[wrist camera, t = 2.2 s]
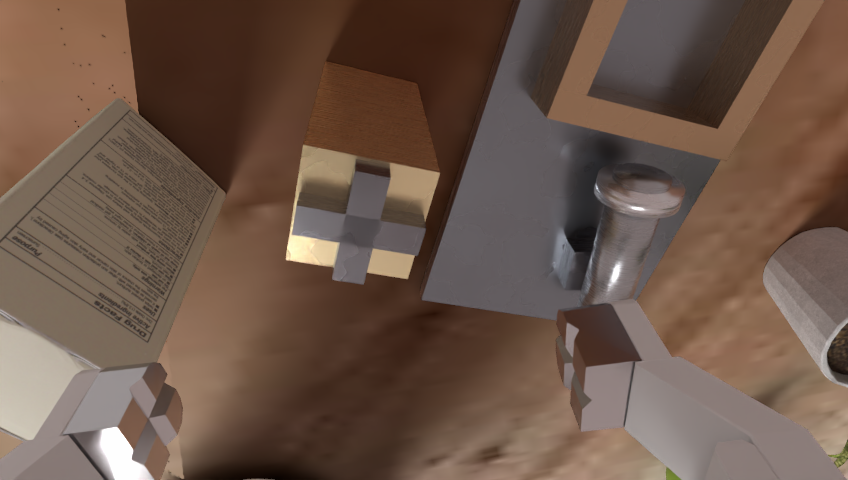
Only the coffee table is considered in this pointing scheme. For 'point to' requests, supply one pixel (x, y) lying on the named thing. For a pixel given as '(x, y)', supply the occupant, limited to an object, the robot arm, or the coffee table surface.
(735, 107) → the coupler station
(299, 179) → the pale yellow block
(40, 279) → the skincare box
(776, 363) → the coffee table surface
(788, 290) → the house plant
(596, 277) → the shaft
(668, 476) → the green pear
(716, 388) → the robot arm
